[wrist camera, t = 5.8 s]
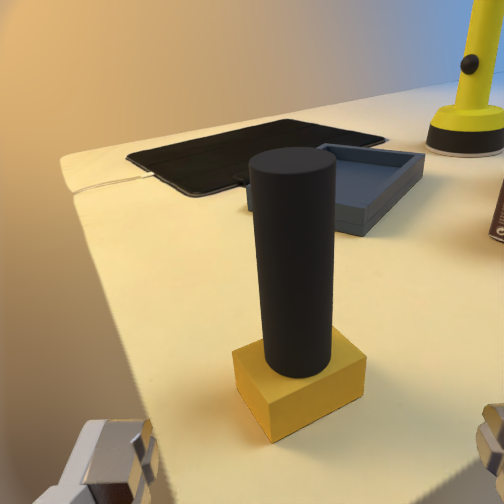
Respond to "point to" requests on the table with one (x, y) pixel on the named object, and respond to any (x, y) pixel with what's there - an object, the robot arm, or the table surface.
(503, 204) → the box
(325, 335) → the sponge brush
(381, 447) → the table surface
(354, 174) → the tray
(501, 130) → the flashlight
